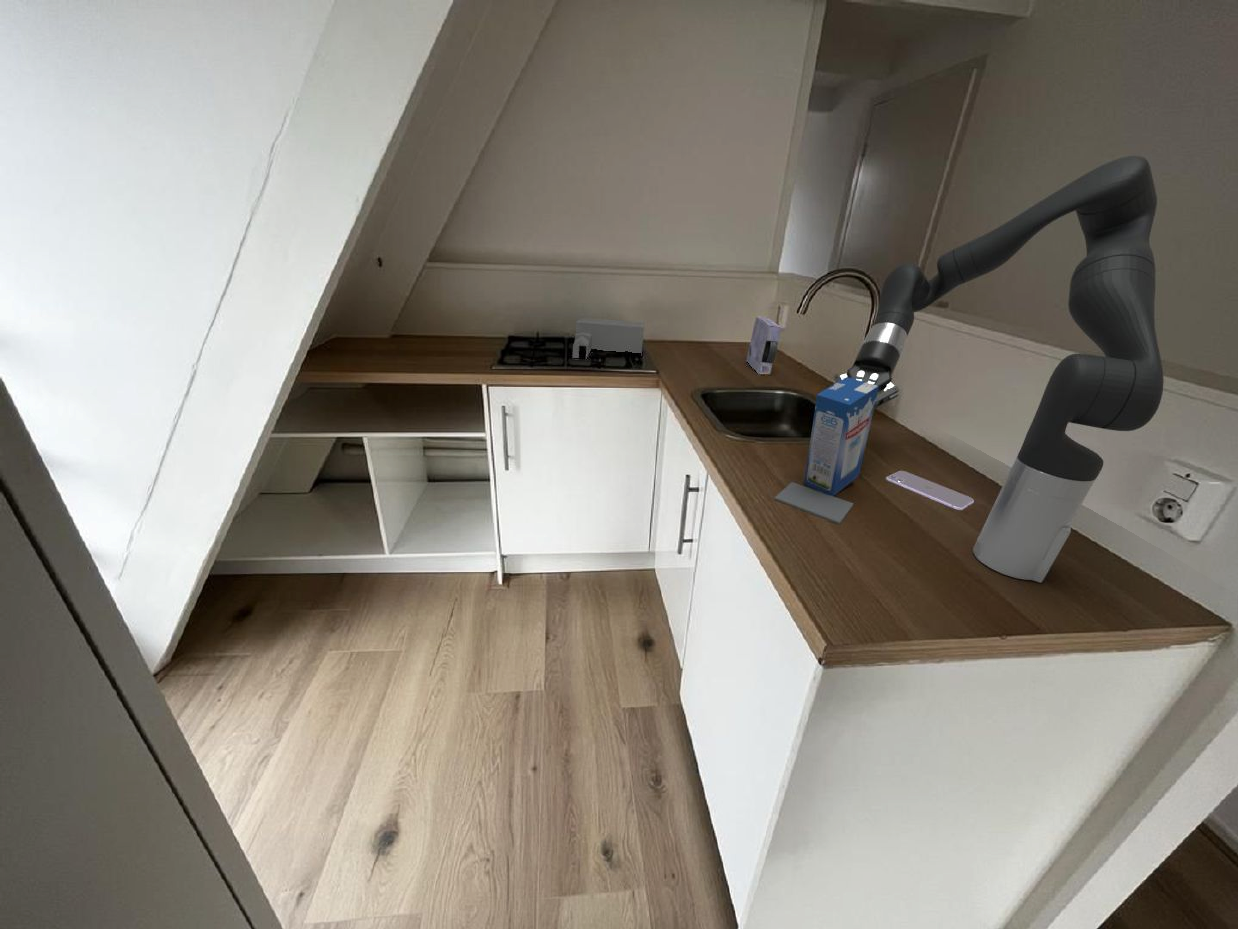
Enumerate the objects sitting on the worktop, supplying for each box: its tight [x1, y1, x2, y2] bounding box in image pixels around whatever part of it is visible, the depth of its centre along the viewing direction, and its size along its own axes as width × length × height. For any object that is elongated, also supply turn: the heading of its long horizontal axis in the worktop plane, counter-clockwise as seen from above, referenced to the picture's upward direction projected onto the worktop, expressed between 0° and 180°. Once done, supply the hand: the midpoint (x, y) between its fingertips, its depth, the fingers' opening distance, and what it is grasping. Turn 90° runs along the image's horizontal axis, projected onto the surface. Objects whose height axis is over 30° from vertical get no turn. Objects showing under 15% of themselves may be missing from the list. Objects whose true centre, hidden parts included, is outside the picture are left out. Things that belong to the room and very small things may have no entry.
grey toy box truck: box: [572, 317, 645, 360], centre depth 184 cm, size 25×23×11 cm
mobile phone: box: [885, 470, 975, 511], centre depth 101 cm, size 8×1×15 cm
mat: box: [774, 481, 854, 525], centre depth 92 cm, size 12×9×1 cm
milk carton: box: [803, 377, 879, 497], centre depth 94 cm, size 10×6×20 cm, turn 129°
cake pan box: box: [745, 315, 782, 375], centre depth 177 cm, size 19×5×18 cm, turn 0°
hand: (848, 421), depth 97 cm, fingers closed
